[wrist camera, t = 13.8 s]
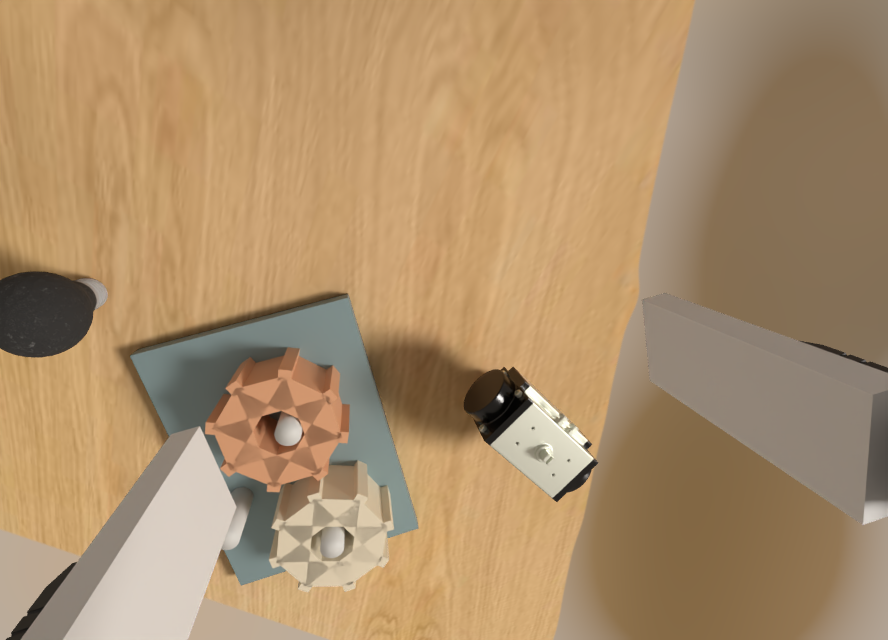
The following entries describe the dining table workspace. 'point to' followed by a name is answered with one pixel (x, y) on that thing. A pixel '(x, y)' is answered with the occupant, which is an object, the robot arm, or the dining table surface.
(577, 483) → the pneumatic valve
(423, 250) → the dining table surface
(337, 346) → the gear board
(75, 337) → the light bulb
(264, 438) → the loose gear
